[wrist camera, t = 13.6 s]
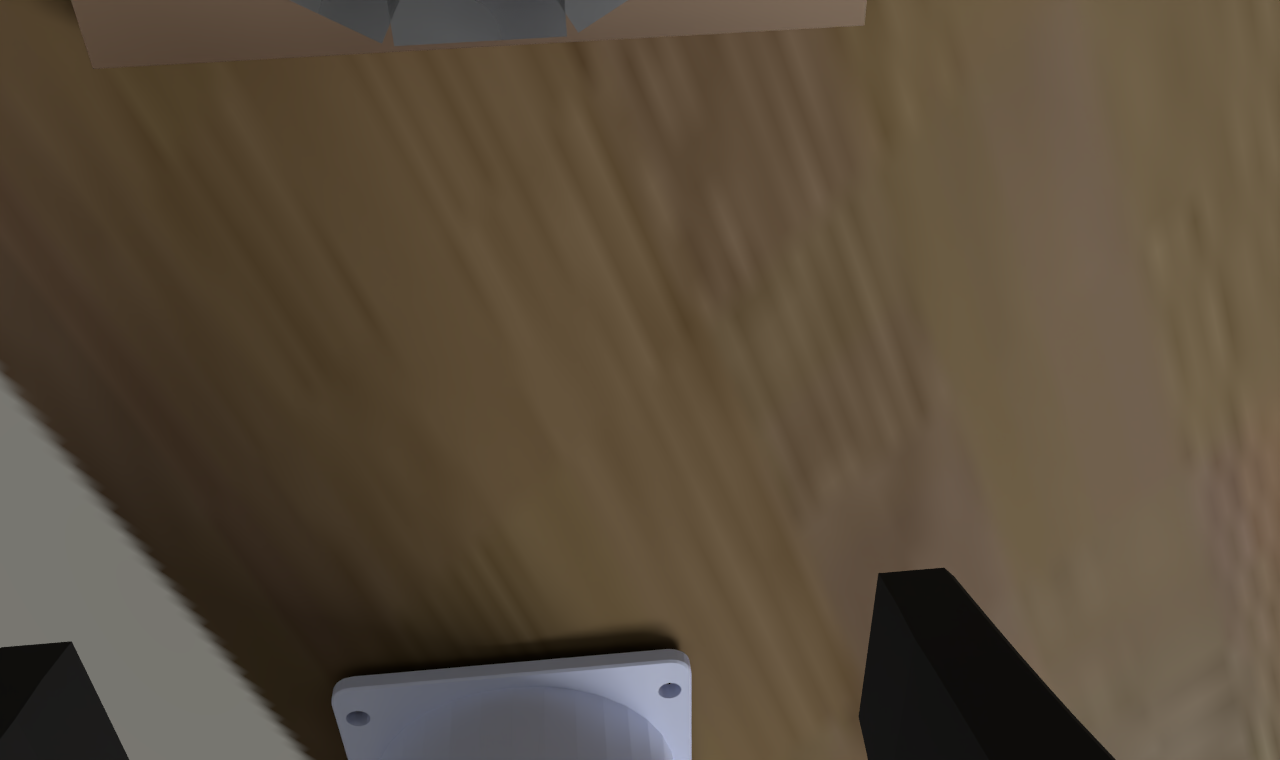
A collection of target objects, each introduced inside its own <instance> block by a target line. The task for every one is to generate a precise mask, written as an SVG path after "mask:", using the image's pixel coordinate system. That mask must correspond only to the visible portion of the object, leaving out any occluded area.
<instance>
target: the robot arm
mask: <svg viewBox="0 0 1280 760" xmlns="http://www.w3.org/2000/svg"><path fill="white" fill-rule="evenodd" d="M668 683H671V684H668ZM332 708H333V711H334V714H335V718H336V721H337V724H338V728H339V731H340V735H341V738H342V741H343V745H344V748H345V751H346V755H347V758H348V760H691V667H690V661H689V658H688V656H687V655H686V654H685V653H684V652H681V651H679V650H676V649H661V650H649V651H638V652H626V653H615V654H603V655H592V656H581V657H569V658H558V659H546V660H535V661H523V662H512V663H500V664H489V665H478V666H466V667H455V668H443V669H432V670H420V671H409V672H398V673H386V674H375V675H363V676H352V677H348V678H344V679H342V680H340V681H339V682H337V683H336V685H335V686H334V688H333V694H332ZM360 711H363V712H360ZM859 720H860V725H861V729H862V734H863V738H864V743H865V748H866V752H867V757H868V760H1115V759H1114V757H1113V756H1112V755H1111V754H1110V753H1109V752H1108V751H1107V750H1106V749H1105V748H1104V747H1103V746H1102V745H1101V744H1100V743H1099V742H1098V741H1097V739H1096V738H1095V737H1094V736H1093V735H1092V734H1091V733H1090V732H1089V731H1088V730H1087V729H1086V728H1085V727H1084V726H1083V725H1082V724H1081V722H1080V721H1079V720H1078V719H1077V718H1076V717H1075V716H1074V715H1073V714H1072V713H1071V712H1070V711H1069V709H1068V708H1067V707H1066V706H1065V705H1064V704H1063V703H1062V702H1061V701H1060V699H1059V698H1058V697H1057V696H1056V695H1055V694H1054V693H1053V692H1052V691H1051V690H1050V688H1049V687H1048V686H1047V685H1046V684H1045V683H1044V682H1043V680H1042V679H1041V678H1040V677H1039V676H1038V675H1037V674H1036V672H1035V671H1034V670H1033V669H1032V668H1031V667H1030V666H1029V664H1028V663H1027V662H1026V661H1025V660H1024V659H1023V658H1022V657H1021V655H1020V654H1019V653H1018V652H1017V651H1016V650H1015V648H1014V647H1013V646H1012V645H1011V644H1010V643H1009V641H1008V640H1007V639H1006V638H1005V637H1004V636H1003V634H1002V633H1001V632H1000V631H999V630H998V629H997V627H996V626H995V625H994V624H993V623H992V621H991V620H990V619H989V618H988V617H987V615H986V614H985V613H984V612H983V611H982V610H981V608H980V607H979V606H978V605H977V604H976V602H975V601H974V600H973V599H972V598H971V596H970V595H969V594H968V593H967V592H966V590H965V589H964V588H963V587H962V586H961V584H960V583H959V582H958V581H957V579H956V578H955V577H954V576H953V575H952V574H951V573H949V572H948V571H947V570H946V569H945V568H935V569H924V570H912V571H900V572H888V573H878V581H877V588H876V595H875V602H874V610H873V617H872V624H871V631H870V639H869V646H868V653H867V660H866V668H865V675H864V682H863V689H862V697H861V704H860V711H859ZM0 760H129V759H128V757H127V754H126V752H125V750H124V748H123V746H122V744H121V742H120V740H119V738H118V736H117V734H116V732H115V730H114V728H113V725H112V723H111V721H110V720H109V717H108V715H107V713H106V711H105V709H104V707H103V705H102V703H101V701H100V699H99V697H98V695H97V693H96V691H95V689H94V686H93V684H92V683H91V680H90V678H89V676H88V674H87V672H86V670H85V668H84V666H83V664H82V662H81V660H80V658H79V656H78V654H77V651H76V650H75V648H74V646H73V643H72V642H61V643H49V644H36V645H24V646H14V647H2V648H0Z"/></svg>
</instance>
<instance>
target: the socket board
mask: <svg viewBox="0 0 1280 760" xmlns="http://www.w3.org/2000/svg"><path fill="white" fill-rule="evenodd" d="M71 2H72V5H73V8H74V11H75V15H76V18H77V21H78V24H79V27H80V30H81V33H82V36H83V39H84V42H85V45H86V48H87V52H88V55H89V58H90V61H91V64H92V67H93V69H99V68H117V67H134V66H152V65H170V64H188V63H205V62H223V61H241V60H259V59H277V58H294V57H312V56H330V55H348V54H365V53H383V52H401V51H419V50H436V49H454V48H472V47H490V46H508V45H525V44H543V43H561V42H579V41H596V40H614V39H632V38H650V37H667V36H685V35H703V34H721V33H739V32H756V31H774V30H792V29H810V28H827V27H845V26H863V25H865V15H866V4H867V0H71Z"/></svg>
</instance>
